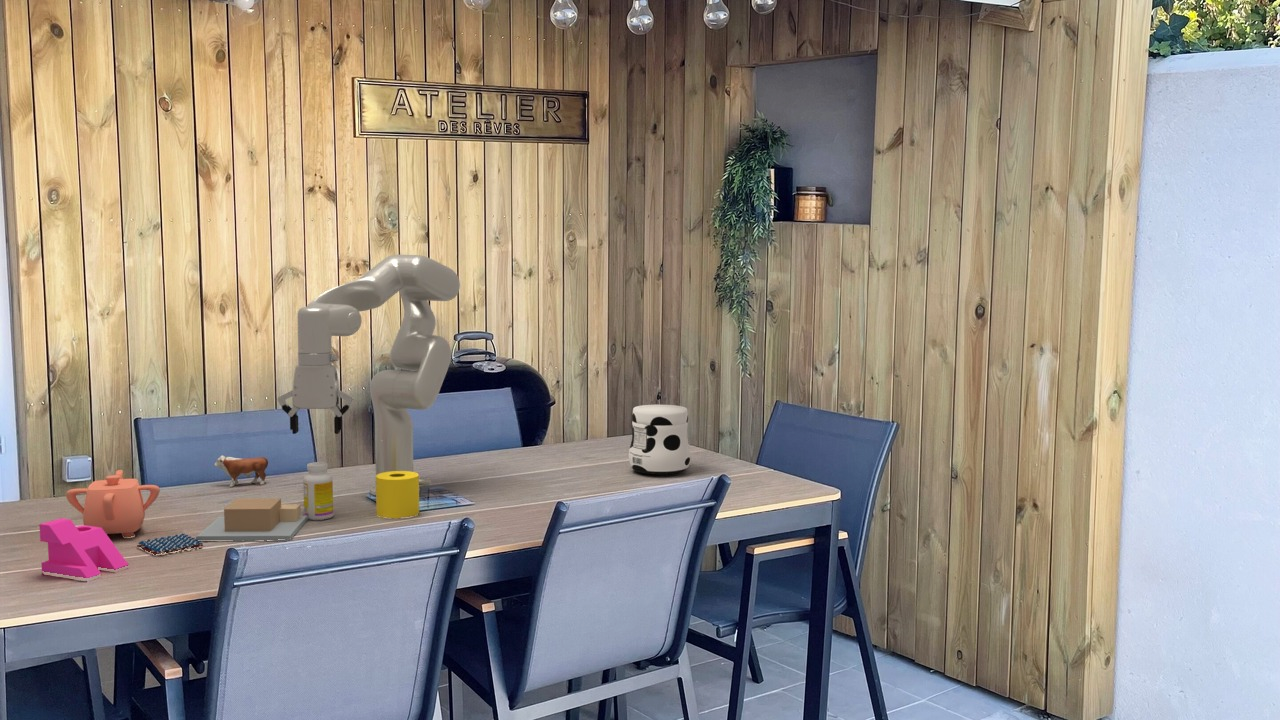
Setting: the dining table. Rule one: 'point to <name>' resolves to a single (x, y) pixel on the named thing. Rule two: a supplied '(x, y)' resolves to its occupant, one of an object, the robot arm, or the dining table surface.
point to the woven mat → (169, 544)
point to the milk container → (659, 439)
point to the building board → (251, 535)
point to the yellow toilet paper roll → (397, 494)
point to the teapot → (114, 504)
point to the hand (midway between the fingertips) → (316, 432)
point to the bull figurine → (243, 468)
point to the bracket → (78, 549)
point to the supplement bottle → (318, 492)
